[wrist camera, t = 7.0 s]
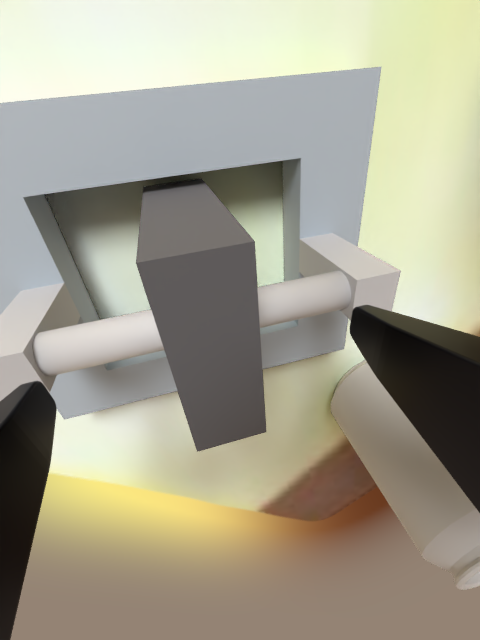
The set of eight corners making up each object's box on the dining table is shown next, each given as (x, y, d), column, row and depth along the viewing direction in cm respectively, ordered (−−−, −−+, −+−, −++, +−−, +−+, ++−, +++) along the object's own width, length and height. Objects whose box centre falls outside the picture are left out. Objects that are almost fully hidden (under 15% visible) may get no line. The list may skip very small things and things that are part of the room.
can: (331, 357, 21) (490, 559, 11) (421, 338, 22) (635, 502, 12) (319, 424, 25) (428, 615, 15) (396, 405, 26) (542, 568, 16)
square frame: (350, 75, 12) (507, 29, 7) (327, 330, 19) (394, 405, 14) (-93, 119, 10) (-400, 102, 4) (72, 391, 17) (35, 510, 11)
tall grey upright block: (201, 178, 12) (254, 241, 6) (221, 311, 16) (266, 432, 10) (143, 186, 12) (136, 263, 6) (178, 320, 16) (197, 451, 10)
